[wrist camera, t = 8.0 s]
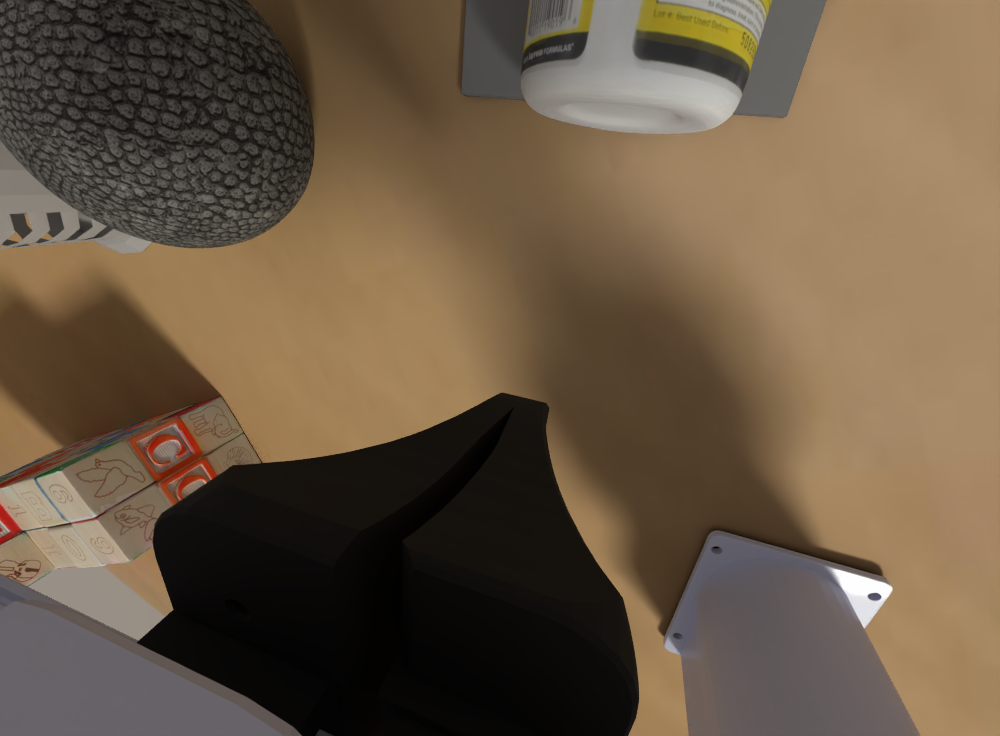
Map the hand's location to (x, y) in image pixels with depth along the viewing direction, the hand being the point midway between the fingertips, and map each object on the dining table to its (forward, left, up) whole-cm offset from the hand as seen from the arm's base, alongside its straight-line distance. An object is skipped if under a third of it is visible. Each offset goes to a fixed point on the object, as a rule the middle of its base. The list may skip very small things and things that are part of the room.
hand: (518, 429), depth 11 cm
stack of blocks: (-17, +31, -10) cm, 37 cm away
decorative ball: (+7, +16, -10) cm, 20 cm away
